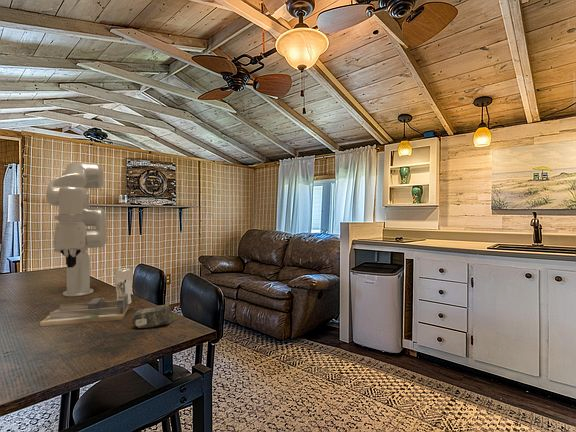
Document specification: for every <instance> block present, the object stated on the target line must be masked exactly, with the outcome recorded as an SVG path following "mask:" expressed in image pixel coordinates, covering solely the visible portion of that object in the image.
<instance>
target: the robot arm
mask: <svg viewBox="0 0 576 432" xmlns="http://www.w3.org/2000/svg"><path fill="white" fill-rule="evenodd" d="M103 186H104V170H103V168H102V166H101V165H100V164H98V163H96V162H95V163H94V162H84V161H83V162H82V161H81V162H80V161H73V162H71V163H68V164H67V165H66V168H65V171H64V172H62V174H61V176H57V177H55V178H53V179H52V180H50V181H49V183H48V186H47V188H46V192H45V199H46V202H47V203H48V204H49V205H51V206H58V215H55V216H54V220H57V221H58V222H56V223H55V228H54V235H53V248H54V250H53V251H54V252H55V253H60V254H62V255H63V256H64V257H65V265H66V290H65V291H63V292H62V296H63V297H82V296H86V295H90V294H92V293H94V288H92V287H91V286H90V285H91V276H90V275H91V274H90V273H91V260H90V259H91V258H90V255H89V253H88V252H86V251H88V249H95V248H97V249H98V248H103V247H104V246H105V245H106V243H107V216H106V215H107V214H106V211H105V210H104V208H102V207H95V206H91V207H90V192H89V190H87V189H94V190H95V189H96V190H97V189H101V188H102V187H103ZM86 227H95V228H86Z"/></svg>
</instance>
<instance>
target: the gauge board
mask: <svg viewBox="0 0 576 432" xmlns="http://www.w3.org/2000/svg"><path fill="white" fill-rule="evenodd" d="M89 302H90V301H89ZM89 302H77V303H74V302H73V303H61V304H59V308H56V309H55V310H53V311H50V312H49V315H47V316H46V317H45V318H43V320H41V321H40V322H39V324H40V325H39V327H48V326H49V327H51V326H61V325H62V326H63V325H75V324H76V325H77V324H87V323H98V322H99V323H100V322H107V321H108V322H110V321H120V320H121V321H122V320H123V318H124V317H125V315H126V313H127V311H128V310H129V308H130V306H129V305H130V304H128V294H122V295H121V297H120V298H119V299H118V301H117V300H105V308H99V309H88V303H89Z"/></svg>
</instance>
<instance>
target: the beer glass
mask: <svg viewBox="0 0 576 432" xmlns="http://www.w3.org/2000/svg"><path fill="white" fill-rule="evenodd" d="M114 272H115V275H114V284H115V285H114V286H115V291H116V301H118V299H119V298H120V297H121V295H122V294H128V304H129V305H130V304H132V297H131V294H132V293H131V292H132V287H133V279H134V278H133V276H134V275H133V268H131V267H124V268H117V269H115V271H114Z"/></svg>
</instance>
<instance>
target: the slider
mask: <svg viewBox="0 0 576 432" xmlns="http://www.w3.org/2000/svg"><path fill="white" fill-rule="evenodd" d="M105 301H106V298H105V297H94V298H92V300H90V301H89V303H88V302H87V303H88V309H99V308H105Z"/></svg>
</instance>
